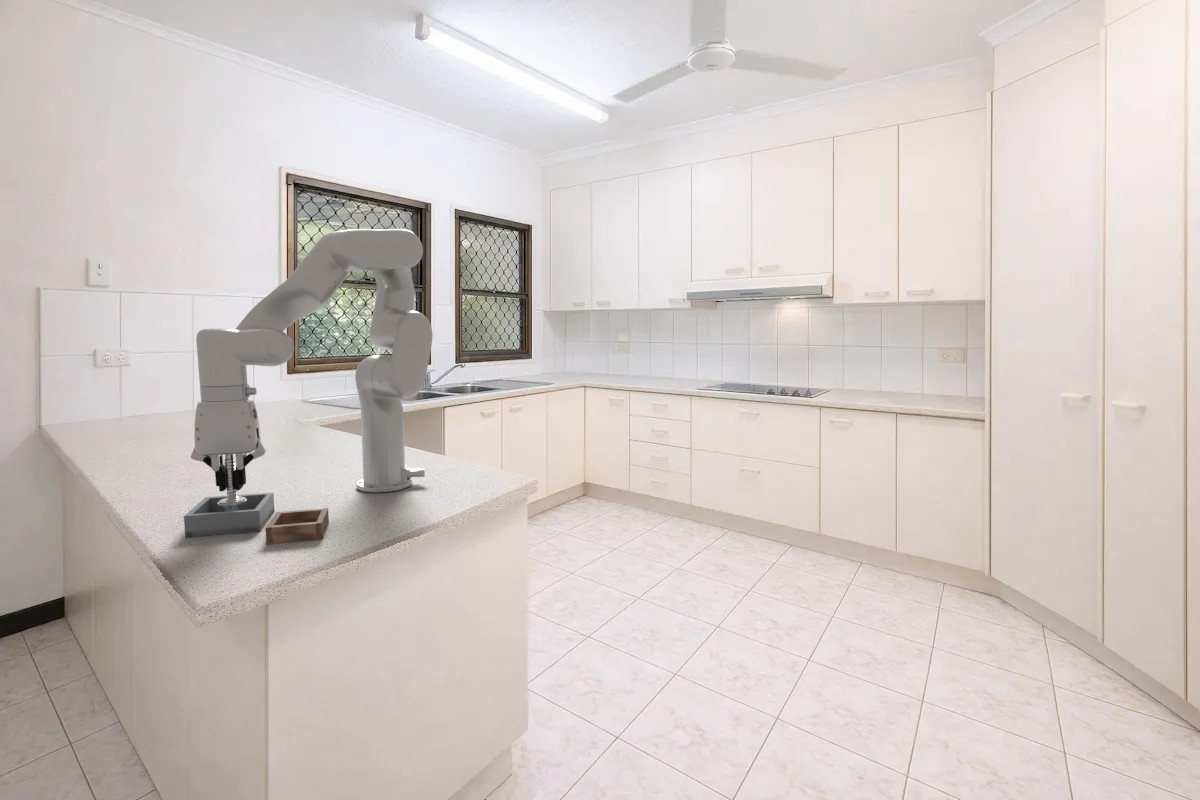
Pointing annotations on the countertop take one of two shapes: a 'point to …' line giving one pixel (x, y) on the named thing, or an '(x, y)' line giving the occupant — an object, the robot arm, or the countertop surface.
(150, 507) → the countertop surface
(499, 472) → the countertop surface
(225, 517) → the bin
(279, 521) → the frame
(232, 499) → the screw
